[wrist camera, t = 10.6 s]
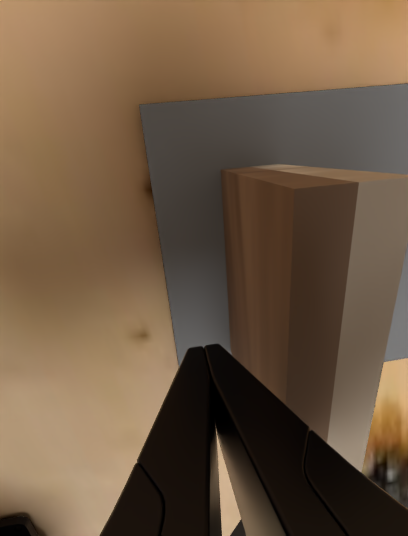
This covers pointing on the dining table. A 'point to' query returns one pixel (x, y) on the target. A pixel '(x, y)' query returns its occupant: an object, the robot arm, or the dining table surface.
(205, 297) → the mat
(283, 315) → the tile
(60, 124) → the dining table surface
